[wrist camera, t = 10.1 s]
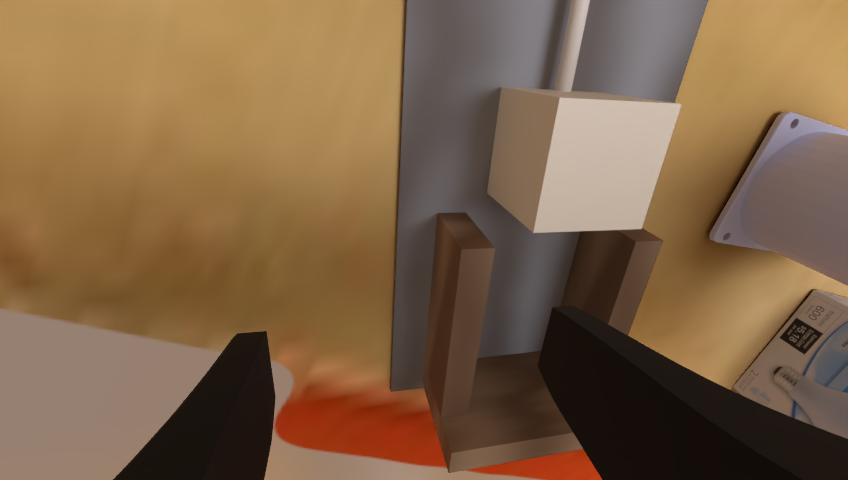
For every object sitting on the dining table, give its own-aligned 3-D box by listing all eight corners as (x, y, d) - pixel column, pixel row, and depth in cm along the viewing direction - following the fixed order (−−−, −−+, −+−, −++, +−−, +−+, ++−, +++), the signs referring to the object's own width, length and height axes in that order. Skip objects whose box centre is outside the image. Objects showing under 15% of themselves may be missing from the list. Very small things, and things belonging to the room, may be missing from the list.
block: (665, -194, 15) (858, -335, 9) (574, 192, 21) (659, 239, 16) (543, -225, 13) (685, -407, 8) (486, 192, 20) (545, 243, 14)
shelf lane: (728, -73, 17) (917, -129, 11) (585, 364, 28) (648, 442, 22) (411, -131, 14) (467, -244, 8) (390, 389, 25) (408, 486, 19)
